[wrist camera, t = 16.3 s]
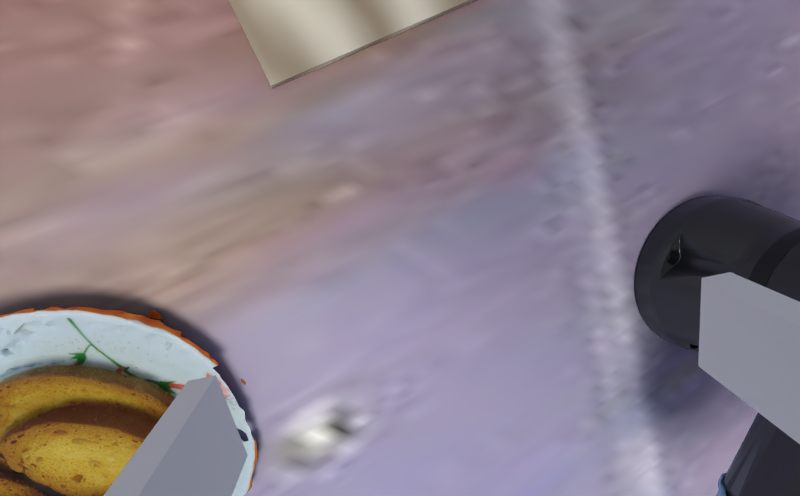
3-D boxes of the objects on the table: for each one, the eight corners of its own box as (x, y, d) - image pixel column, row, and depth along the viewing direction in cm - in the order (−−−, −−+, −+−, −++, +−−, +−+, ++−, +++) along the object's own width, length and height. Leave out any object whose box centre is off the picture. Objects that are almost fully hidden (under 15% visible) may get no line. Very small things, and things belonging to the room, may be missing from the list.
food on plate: (133, 234, 29) (84, 252, 23) (314, 470, 36) (315, 533, 30) (-213, 426, 27) (-371, 504, 21) (49, 640, 34) (-11, 748, 27)
